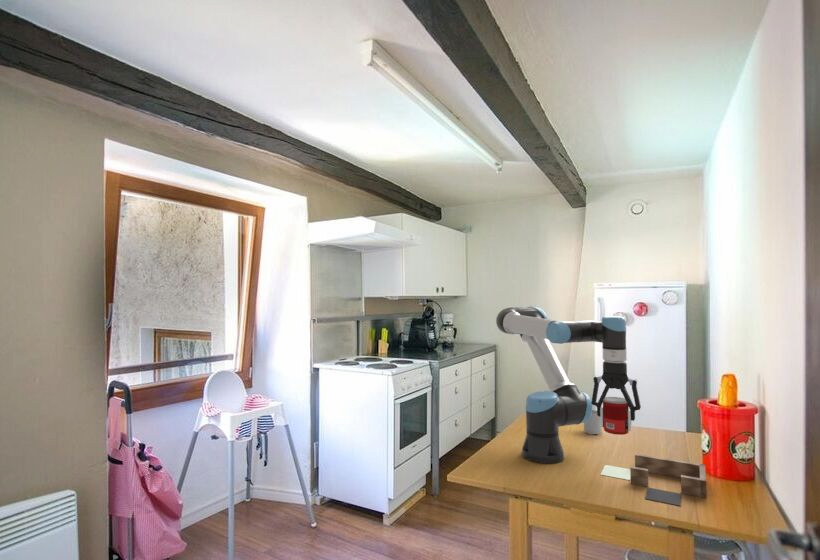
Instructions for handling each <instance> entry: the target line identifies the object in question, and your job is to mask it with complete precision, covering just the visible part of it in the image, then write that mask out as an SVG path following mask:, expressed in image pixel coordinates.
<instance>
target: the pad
mask: <svg viewBox="0 0 820 560" xmlns="http://www.w3.org/2000/svg"><path fill="white" fill-rule="evenodd" d="M600 475H601V476H605V477H610V478H616V479H621V480H627V481H631V477H630V468H625V467H620V466H613V465H608V464H604V466H603V468H602V470H601V473H600Z"/></svg>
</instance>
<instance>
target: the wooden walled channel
mask: <svg viewBox="0 0 820 560" xmlns="http://www.w3.org/2000/svg"><path fill="white" fill-rule="evenodd" d="M629 469H630V477H631V478H630V484H632V485H637V486H641V487H647V488H648V487H649V473H654V474H659V475H664V476H671V477H677V478H680V494H684V495H690V496H694V497H698V498H699V497H700V498H704V499H705V498H706V499H707V477H706V476H707V474H706V465H705V464H702V463H697V462H696V463H695V462H691V461H690V462H689V461H683V460H682V461H681V460H677V459H672V458H664V457H663V458H662V457H659V456H653V455H646V454H639V453H635V454H634V466H632V465H630V468H629Z"/></svg>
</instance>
